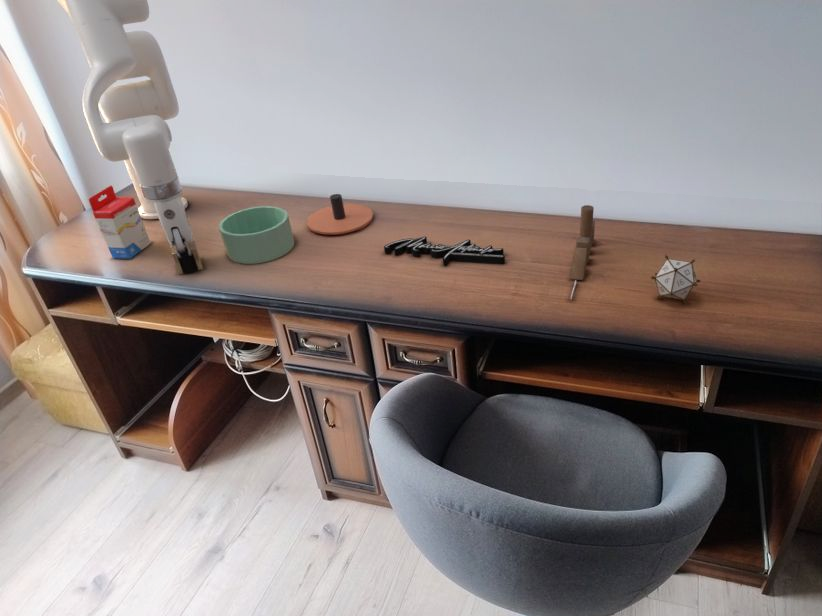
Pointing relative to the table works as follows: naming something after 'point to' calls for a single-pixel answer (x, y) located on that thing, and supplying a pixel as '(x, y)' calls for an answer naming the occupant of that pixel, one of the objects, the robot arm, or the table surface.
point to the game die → (675, 279)
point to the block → (193, 250)
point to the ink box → (119, 224)
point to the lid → (339, 217)
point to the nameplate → (447, 251)
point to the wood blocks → (583, 244)
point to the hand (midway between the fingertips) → (189, 265)
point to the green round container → (257, 234)
